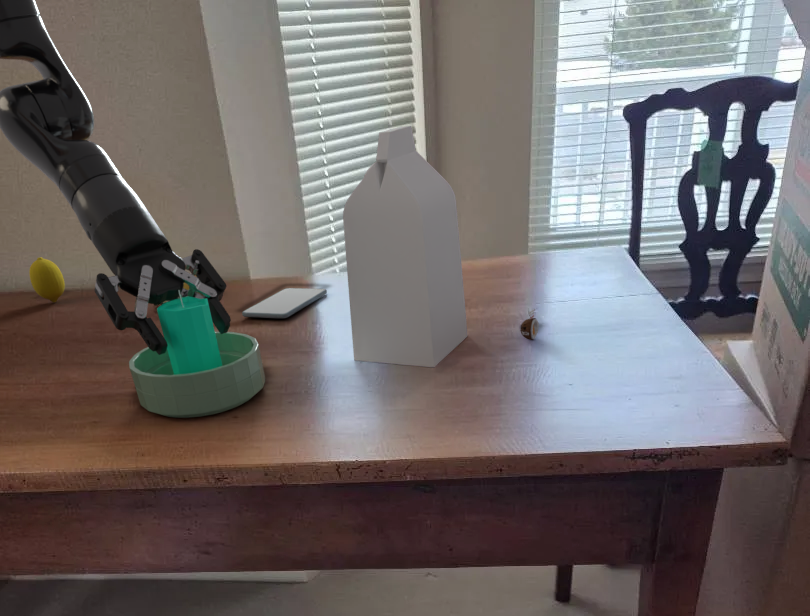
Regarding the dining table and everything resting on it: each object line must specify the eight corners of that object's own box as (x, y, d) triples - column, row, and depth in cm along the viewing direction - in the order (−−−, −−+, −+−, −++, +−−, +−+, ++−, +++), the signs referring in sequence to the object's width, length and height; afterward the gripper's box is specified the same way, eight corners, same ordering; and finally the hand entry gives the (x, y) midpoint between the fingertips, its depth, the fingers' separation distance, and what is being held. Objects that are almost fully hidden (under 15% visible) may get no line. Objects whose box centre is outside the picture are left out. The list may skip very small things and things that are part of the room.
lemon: (45, 308, 132) (29, 262, 127) (34, 303, 135) (18, 258, 131) (75, 300, 135) (60, 255, 130) (64, 296, 138) (49, 252, 134)
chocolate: (526, 334, 100) (527, 304, 98) (541, 336, 99) (542, 306, 96) (516, 341, 98) (516, 311, 96) (531, 343, 97) (531, 313, 94)
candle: (205, 401, 87) (179, 299, 80) (168, 395, 89) (140, 295, 83) (237, 382, 91) (216, 284, 84) (201, 377, 94) (178, 281, 87)
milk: (434, 367, 92) (420, 133, 78) (354, 360, 97) (326, 137, 82) (467, 336, 101) (460, 120, 86) (393, 330, 105) (374, 125, 91)
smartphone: (328, 288, 124) (285, 314, 113) (329, 294, 125) (286, 320, 113) (285, 287, 127) (239, 312, 115) (286, 293, 127) (240, 318, 116)
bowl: (201, 431, 82) (189, 384, 79) (116, 408, 89) (102, 365, 86) (291, 382, 92) (283, 340, 89) (207, 366, 99) (198, 326, 96)
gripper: (65, 216, 79) (147, 339, 78) (179, 193, 87) (254, 304, 86) (61, 262, 85) (136, 375, 85) (168, 236, 93) (237, 340, 93)
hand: (196, 339), depth 86 cm, fingers open, 8 cm apart
